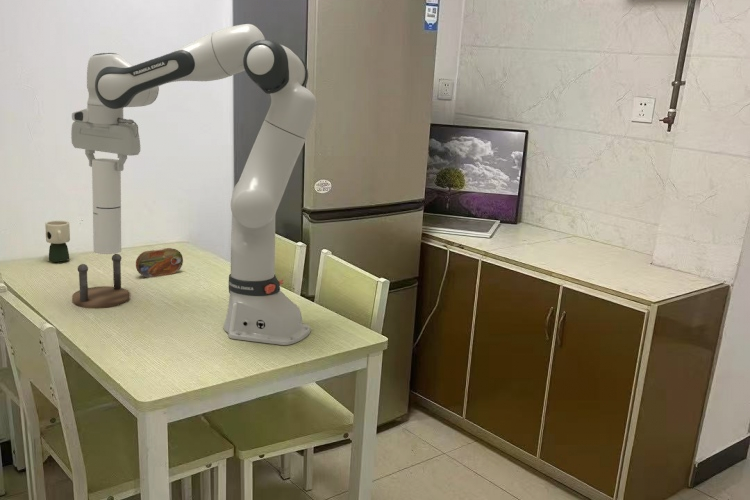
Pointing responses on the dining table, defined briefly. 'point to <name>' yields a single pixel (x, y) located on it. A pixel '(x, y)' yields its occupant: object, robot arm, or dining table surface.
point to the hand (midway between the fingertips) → (106, 168)
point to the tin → (159, 262)
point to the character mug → (58, 240)
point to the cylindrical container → (106, 206)
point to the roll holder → (101, 289)
